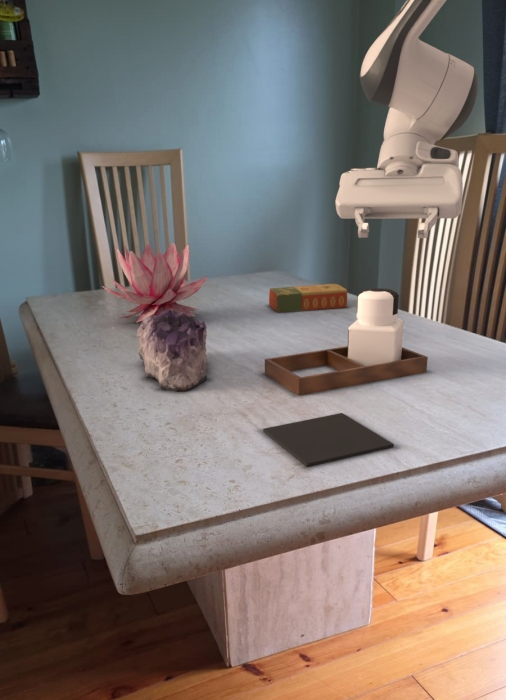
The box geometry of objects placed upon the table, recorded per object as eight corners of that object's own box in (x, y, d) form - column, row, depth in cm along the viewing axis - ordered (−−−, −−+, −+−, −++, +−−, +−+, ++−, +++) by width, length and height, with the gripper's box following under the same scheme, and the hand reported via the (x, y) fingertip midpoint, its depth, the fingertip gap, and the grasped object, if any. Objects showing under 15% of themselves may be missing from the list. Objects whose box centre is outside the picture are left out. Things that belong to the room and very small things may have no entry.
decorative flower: (100, 334, 123) (89, 254, 117) (118, 311, 142) (109, 242, 136) (208, 329, 123) (203, 250, 117) (211, 308, 143) (207, 239, 136)
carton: (347, 308, 138) (348, 288, 136) (276, 313, 135) (276, 293, 134) (336, 301, 145) (336, 282, 143) (268, 305, 143) (268, 286, 141)
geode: (231, 387, 90) (219, 321, 86) (153, 406, 89) (136, 339, 84) (206, 347, 108) (194, 290, 103) (140, 362, 106) (126, 305, 102)
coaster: (341, 416, 79) (342, 412, 78) (393, 448, 69) (393, 443, 69) (263, 432, 75) (263, 428, 74) (306, 468, 65) (307, 463, 65)
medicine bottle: (356, 360, 101) (359, 285, 96) (401, 364, 98) (406, 286, 93) (346, 373, 95) (348, 293, 90) (393, 377, 92) (398, 295, 87)
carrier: (383, 355, 103) (384, 340, 102) (426, 372, 94) (428, 356, 93) (264, 374, 95) (264, 358, 94) (298, 396, 86) (298, 378, 85)
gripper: (340, 155, 104) (325, 222, 100) (468, 150, 98) (458, 221, 94) (344, 183, 110) (331, 247, 105) (465, 180, 104) (456, 249, 99)
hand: (392, 235), depth 99 cm, fingers open, 8 cm apart
